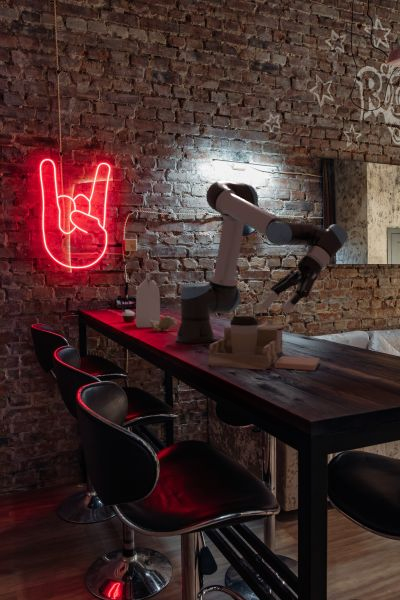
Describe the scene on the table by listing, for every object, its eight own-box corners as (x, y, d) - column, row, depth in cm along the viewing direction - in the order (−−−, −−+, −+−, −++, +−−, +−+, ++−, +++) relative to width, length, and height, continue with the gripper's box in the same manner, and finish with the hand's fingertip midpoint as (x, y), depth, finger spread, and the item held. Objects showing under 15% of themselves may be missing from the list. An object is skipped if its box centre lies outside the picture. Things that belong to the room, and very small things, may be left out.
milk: (135, 324, 272) (135, 273, 270) (158, 323, 274) (157, 273, 272) (137, 327, 260) (136, 273, 258) (160, 326, 263) (160, 273, 261)
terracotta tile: (281, 360, 175) (281, 356, 175) (319, 362, 172) (319, 358, 171) (274, 367, 164) (274, 362, 164) (314, 370, 160) (314, 365, 160)
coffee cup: (260, 360, 176) (260, 315, 174) (255, 365, 167) (255, 318, 166) (233, 359, 178) (233, 314, 177) (227, 364, 169) (227, 317, 168)
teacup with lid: (287, 353, 190) (287, 320, 189) (263, 354, 187) (263, 321, 186) (273, 347, 201) (273, 316, 200) (250, 348, 199) (250, 317, 198)
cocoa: (136, 322, 286) (136, 299, 286) (137, 322, 280) (137, 300, 279) (118, 321, 284) (118, 299, 283) (118, 322, 278) (119, 299, 277)
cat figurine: (147, 317, 248) (172, 310, 251) (151, 331, 251) (174, 323, 254) (152, 324, 241) (177, 316, 244) (156, 338, 244) (180, 330, 247)
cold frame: (224, 355, 184) (225, 327, 183) (276, 359, 178) (277, 329, 177) (208, 365, 167) (208, 334, 166) (265, 369, 161) (265, 336, 160)
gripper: (342, 271, 169) (301, 320, 165) (299, 270, 192) (262, 313, 188) (328, 254, 167) (286, 304, 162) (286, 255, 190) (248, 298, 185)
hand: (273, 309), depth 175 cm, fingers open, 13 cm apart
